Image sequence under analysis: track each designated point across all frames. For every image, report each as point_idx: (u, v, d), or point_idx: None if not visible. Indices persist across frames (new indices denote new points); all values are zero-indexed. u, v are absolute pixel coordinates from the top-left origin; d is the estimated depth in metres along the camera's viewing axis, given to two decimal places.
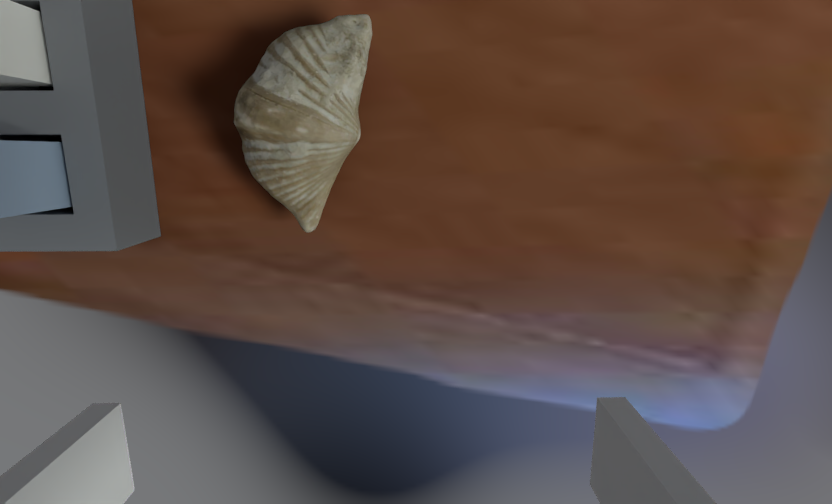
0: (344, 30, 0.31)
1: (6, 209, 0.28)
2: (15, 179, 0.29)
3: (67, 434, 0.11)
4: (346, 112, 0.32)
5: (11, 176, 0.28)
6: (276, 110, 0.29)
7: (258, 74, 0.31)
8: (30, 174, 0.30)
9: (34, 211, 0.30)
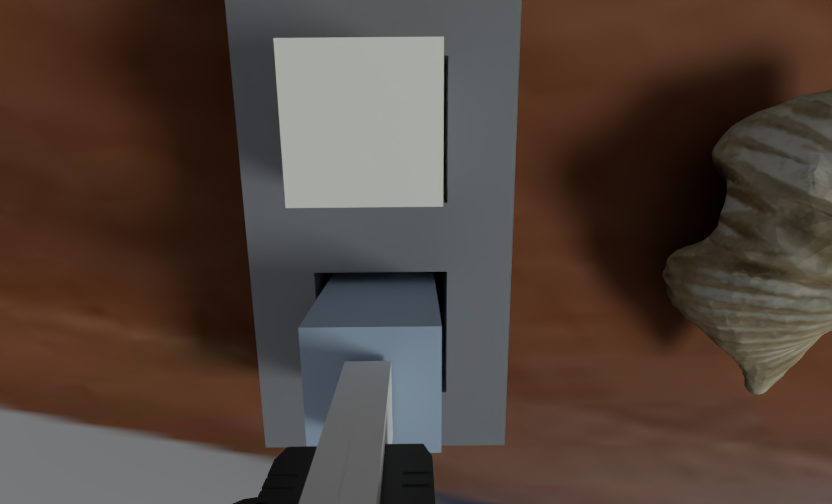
0: None
1: None
2: None
3: (349, 382, 0.13)
4: None
5: None
6: None
7: (788, 173, 0.19)
8: None
9: None
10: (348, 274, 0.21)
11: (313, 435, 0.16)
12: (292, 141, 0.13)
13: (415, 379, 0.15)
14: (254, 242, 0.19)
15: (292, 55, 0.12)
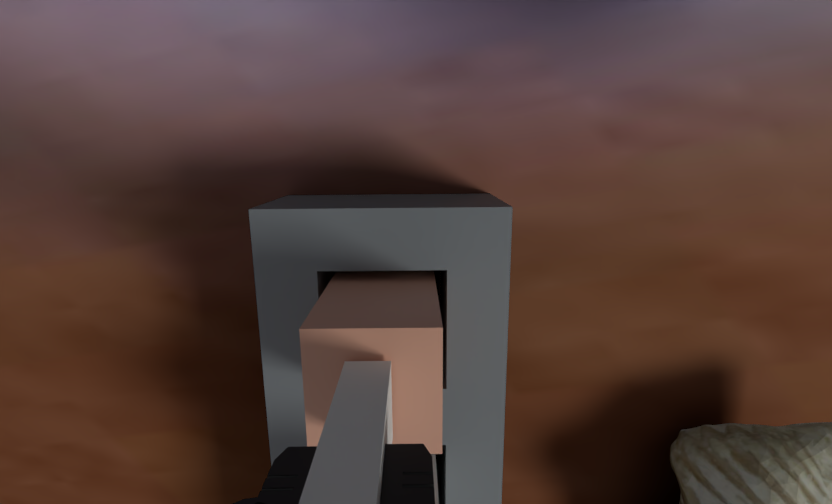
0: None
1: None
2: None
3: (349, 382, 0.13)
4: None
5: None
6: None
7: None
8: None
9: None
10: None
11: None
12: None
13: None
14: None
15: None
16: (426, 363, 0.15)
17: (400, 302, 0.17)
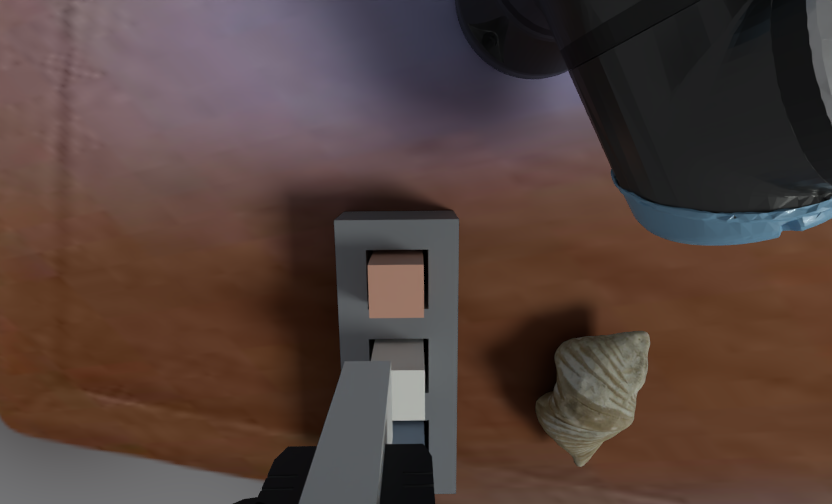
0: (635, 349, 0.44)
1: None
2: None
3: (349, 382, 0.13)
4: (634, 405, 0.44)
5: None
6: (600, 418, 0.42)
7: (573, 380, 0.44)
8: None
9: None
10: None
11: None
12: None
13: None
14: None
15: None
16: (417, 279, 0.38)
17: (406, 257, 0.40)
